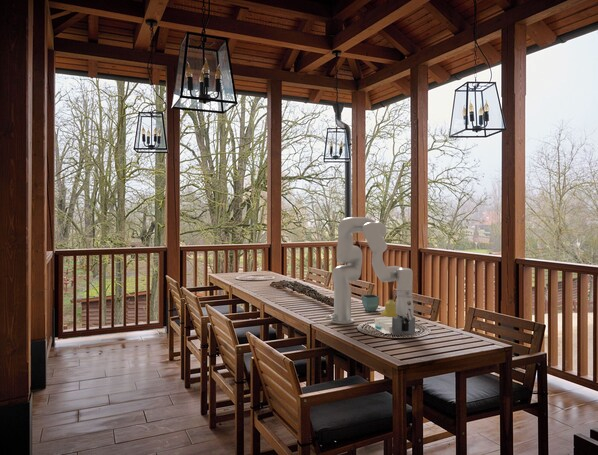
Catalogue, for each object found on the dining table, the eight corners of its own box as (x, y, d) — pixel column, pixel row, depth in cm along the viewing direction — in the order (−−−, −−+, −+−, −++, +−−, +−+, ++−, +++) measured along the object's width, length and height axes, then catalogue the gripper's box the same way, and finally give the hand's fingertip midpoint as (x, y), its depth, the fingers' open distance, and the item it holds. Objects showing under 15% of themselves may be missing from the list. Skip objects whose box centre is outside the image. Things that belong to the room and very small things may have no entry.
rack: (384, 335, 235) (384, 327, 235) (367, 325, 254) (367, 318, 254) (419, 332, 240) (419, 324, 240) (400, 322, 259) (401, 316, 259)
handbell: (386, 317, 272) (386, 274, 271) (377, 313, 284) (377, 272, 283) (405, 316, 275) (405, 274, 274) (395, 311, 287) (395, 271, 286)
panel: (394, 334, 228) (395, 318, 228) (391, 333, 231) (392, 317, 231) (414, 333, 232) (415, 317, 231) (411, 331, 234) (412, 315, 234)
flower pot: (366, 312, 286) (366, 297, 285) (360, 309, 294) (361, 295, 294) (379, 311, 288) (379, 297, 288) (373, 308, 297) (373, 294, 296)
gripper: (419, 296, 223) (418, 334, 225) (403, 289, 239) (402, 325, 240) (405, 297, 221) (404, 335, 222) (389, 290, 237) (389, 326, 238)
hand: (403, 329), depth 231 cm, fingers closed on panel, 3 cm apart
